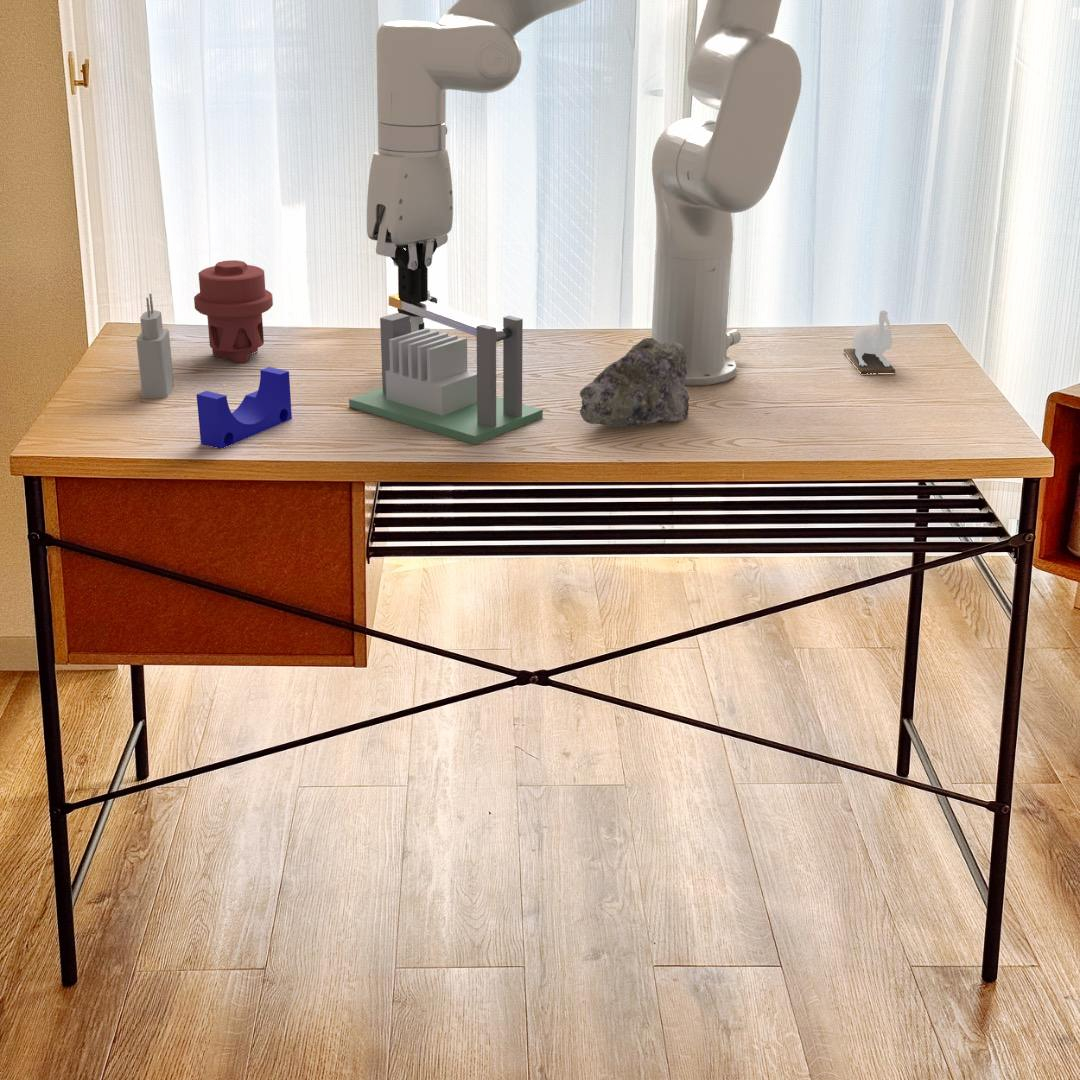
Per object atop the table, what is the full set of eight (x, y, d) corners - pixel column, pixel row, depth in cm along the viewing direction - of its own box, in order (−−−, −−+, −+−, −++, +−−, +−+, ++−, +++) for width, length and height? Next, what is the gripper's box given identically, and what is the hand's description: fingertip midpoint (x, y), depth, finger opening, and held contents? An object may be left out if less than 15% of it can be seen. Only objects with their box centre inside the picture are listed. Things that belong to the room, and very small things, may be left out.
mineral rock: (578, 435, 167) (580, 350, 163) (578, 405, 177) (580, 324, 172) (692, 437, 166) (696, 352, 162) (685, 407, 176) (690, 326, 172)
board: (418, 383, 183) (415, 285, 178) (542, 417, 172) (543, 313, 167) (349, 406, 175) (344, 304, 170) (475, 444, 163) (474, 336, 158)
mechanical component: (183, 358, 192) (239, 341, 200) (236, 372, 187) (292, 354, 194) (174, 265, 187) (232, 251, 195) (229, 277, 182) (286, 262, 189)
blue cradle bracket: (262, 413, 173) (259, 364, 171) (292, 420, 171) (288, 371, 168) (191, 443, 164) (186, 391, 161) (221, 450, 162) (217, 399, 159)
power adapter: (141, 398, 177) (130, 301, 172) (149, 384, 182) (140, 289, 177) (167, 398, 177) (157, 301, 172) (175, 384, 182) (166, 289, 177)
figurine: (904, 386, 185) (911, 319, 181) (869, 387, 185) (875, 320, 181) (875, 353, 198) (881, 290, 194) (842, 354, 197) (847, 291, 194)
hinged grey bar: (404, 300, 174) (405, 291, 173) (511, 339, 165) (512, 329, 164) (388, 305, 172) (388, 295, 171) (495, 344, 163) (496, 334, 162)
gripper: (432, 128, 170) (433, 284, 178) (339, 141, 160) (343, 306, 167) (481, 136, 166) (479, 295, 174) (388, 149, 155) (391, 318, 163)
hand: (413, 300), depth 170 cm, fingers closed
